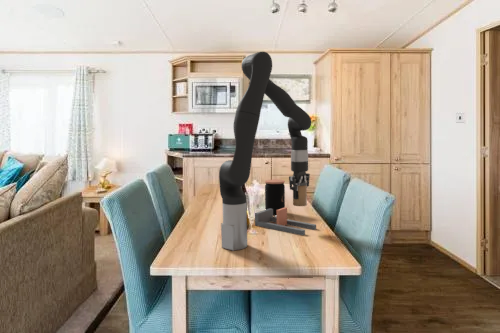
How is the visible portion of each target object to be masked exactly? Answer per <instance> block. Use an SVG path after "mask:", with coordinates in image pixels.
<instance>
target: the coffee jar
mask: <svg viewBox="0 0 500 333" xmlns="http://www.w3.org/2000/svg"><path fill="white" fill-rule="evenodd" d="M264 183H265V185H264V200H265V201H264V204H265V205H264V207H265V208H264V210H265V209H269V208H271V209H273V216H275V215H277V211H276V210H278V209H282V208H285V207H286V206H285V204H286V203H285V202H286V201H285V200H286V196H285V194H286V193H285V192H286V188H285V184H284V183H285V180H283V179H267V180H264Z"/></svg>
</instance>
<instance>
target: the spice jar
mask: <svg viewBox="0 0 500 333" xmlns="http://www.w3.org/2000/svg"><path fill="white" fill-rule="evenodd" d="M296 187H297V185H296ZM307 189H308V186H307V182H303V183H300V186H299V189H298V199H293V198H292V206H295V207H306V206H307V205H308V204H307V202H308V201H307V200H308V199H307V198H308V196H307V193H308V192H307V191H308V190H307Z"/></svg>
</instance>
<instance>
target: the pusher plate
mask: <svg viewBox="0 0 500 333" xmlns="http://www.w3.org/2000/svg"><path fill="white" fill-rule="evenodd" d="M276 211H277V215H274V217H277V223H276V224H278V225H283V226H288V225H287V219H288V207H286V206H285V208H282V209H278V210H276Z"/></svg>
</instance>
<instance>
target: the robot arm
mask: <svg viewBox="0 0 500 333" xmlns="http://www.w3.org/2000/svg"><path fill="white" fill-rule="evenodd" d="M241 71H242V73H243V75H244V76H245V77H246V78H247V79H248V80H249V85H248V86H247V87H248V88H247V89H246V91H245V93H244V95H243V96H242V98H241V100H240V101H239V102H238V105H237V107H236V111H235V115H234V120H233V135H234V141H235V148H234V153H233V156H232V160H229V159H228V160H226V161H224V162H222V164H221V165H220V167H219V170H218V171H219V173H218V178H219V180H218V181H219V182H218V183H219V194H220V196H221V200H222V223H220V230H221V232H220V233H221V237H220V238H221V248H222V249H226V250H229V251H238V250H243V249H246V248H247V247H248V220H247V219H248V216H247V215H248V214H247V211H248V210H247V208H248V207H247V195H246V193H245V192H244V191H243V189H242V186H244V185H245V184H246V183H247V182H248V181H249V177H250V174H251V167H252V157H253V150H254V145H255V141H256V134H257V131H258V130H257V129H258V126H259V123H260V116H261V111H262V106H263V102H264V97H265V96H266V97H267V98H269V100H270V101H271V102H272V103H273V104H274V105H275V107H276V108H277V109H278V110H279V111H280V113H281V114H282V115H283V116H284V117H286V118H288V120H287V128H288V134H289V138H290V140H291V152H290V170H291V172H293V174H292V175H290V176H288V182H289V190H291V191H292V200H293V199H298V189H299V186H300V183H303V182H307V187H310V178H311V177H310V175H311V174H310V173H307V172H308V171H309V150H308V149H309V148H308V145H309V144H308V143H309V142H308V137H306V136H304V135H303V134H302V132H303V131H304V132H305V131H308V130H309V129H310V128H312V118H311V117H310V115H309V114H308V113H307V112H306V111H305V110H304V109H303V108H302V107H300V106H299V105H297V103H296V102H295V101H294V99H293V98H292V97H291V95H290V94H289V93H288V92H287V91H286V90H284V88H282V87H280V86H279V85H278V84H276V83H275V82H273V81H272V80H271V79H270V77H271V74H272V71H273V59H272V57H271V55H270V54H269V53H268V52H266V51H259V52H258V51H257V52H255V53H252V54H250V55H247V56H245V57H244V58H243V60H242V62H241ZM301 131H302V132H301ZM296 185H297V187H296Z"/></svg>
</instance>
